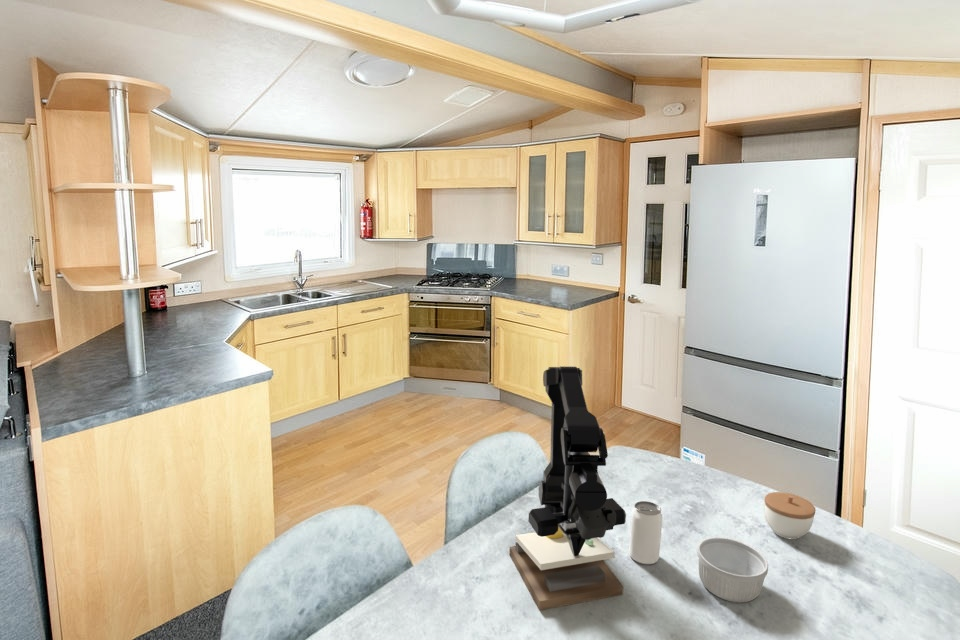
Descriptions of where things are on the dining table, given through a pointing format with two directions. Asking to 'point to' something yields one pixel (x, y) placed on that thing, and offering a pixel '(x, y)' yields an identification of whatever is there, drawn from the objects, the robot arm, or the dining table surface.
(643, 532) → the can
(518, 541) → the plate
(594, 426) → the robot arm
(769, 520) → the lidded jar
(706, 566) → the ramekin
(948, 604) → the dining table surface
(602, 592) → the walnut base
